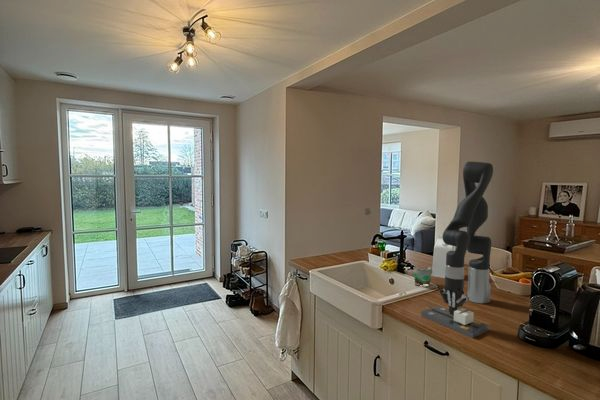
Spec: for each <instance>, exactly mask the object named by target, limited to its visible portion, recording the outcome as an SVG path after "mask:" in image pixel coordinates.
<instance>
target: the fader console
mask: <svg viewBox="0 0 600 400" xmlns="http://www.w3.org/2000/svg"><path fill="white" fill-rule="evenodd" d="M420 315H421V316H422V317H423V318H425V319H428V320H430V321H432V322H434V323H437V324H440V325H442V326H445V327H447V328H449V329H450V330H454V331H456V332H458V333H460V334H462V335H465V336H467V337H469V338H471V339H474V338H476V337H478V336H481V335H482V334H484V333H486V332H489V331H490V325H489V324H486V323H484V322H481V321H479V320H476V319H473V322H471V323H469V324H466V325H464V324H461V323H459V322H456V321H454V315H451V314H450V313H449V308H444V307H442V306H440V305H435V306H432V307H430V308H427V309H424V310H421V312H420Z"/></svg>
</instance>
